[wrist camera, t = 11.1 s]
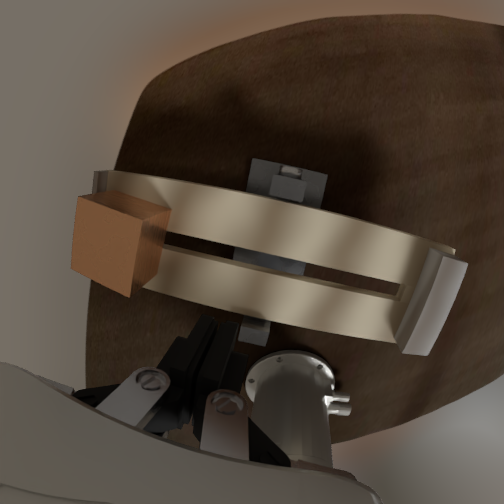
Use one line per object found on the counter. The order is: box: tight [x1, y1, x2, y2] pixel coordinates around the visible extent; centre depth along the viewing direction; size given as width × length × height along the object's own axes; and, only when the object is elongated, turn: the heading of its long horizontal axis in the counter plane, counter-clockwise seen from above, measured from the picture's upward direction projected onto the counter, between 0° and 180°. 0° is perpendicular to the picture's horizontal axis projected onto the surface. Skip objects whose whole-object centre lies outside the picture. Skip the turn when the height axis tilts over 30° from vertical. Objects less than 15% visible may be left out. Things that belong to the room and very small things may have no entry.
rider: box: [71, 190, 172, 298], centre depth 21 cm, size 6×6×6 cm
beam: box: [92, 170, 468, 356], centre depth 22 cm, size 32×10×4 cm, turn 79°
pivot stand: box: [233, 158, 328, 346], centre depth 26 cm, size 8×16×10 cm, turn 169°
